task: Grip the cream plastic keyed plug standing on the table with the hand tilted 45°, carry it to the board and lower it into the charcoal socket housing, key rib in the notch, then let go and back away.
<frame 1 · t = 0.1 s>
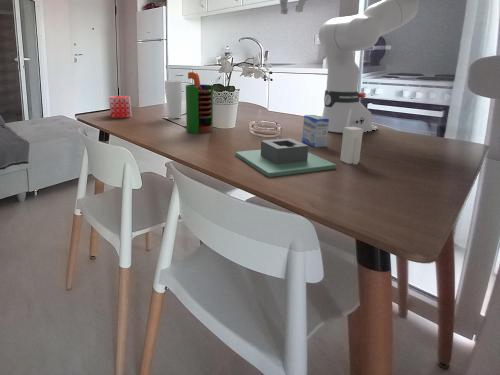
hand: (291, 13, 118), 39 cm above the table, tool pointing down, fingers open, 8 cm apart
puzzle cube: (121, 116, 158), on the table
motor: (199, 131, 133), on the table
keyed plug: (349, 161, 100), on the table
medicine box: (313, 144, 118), on the table
drinking glass: (174, 118, 156), on the table
socket board: (283, 161, 98), on the table
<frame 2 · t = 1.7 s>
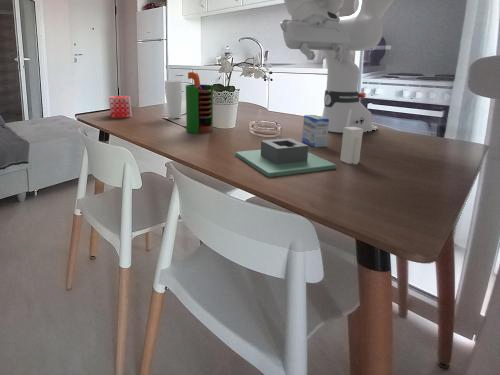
hand: (326, 58, 103), 26 cm above the table, tool tilted 45°, fingers open, 8 cm apart
nothing on the table moved.
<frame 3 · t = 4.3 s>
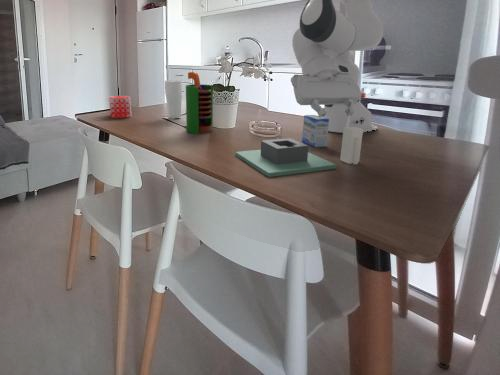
hand: (337, 115, 101), 11 cm above the table, tool tilted 45°, fingers open, 8 cm apart
nothing on the table moved.
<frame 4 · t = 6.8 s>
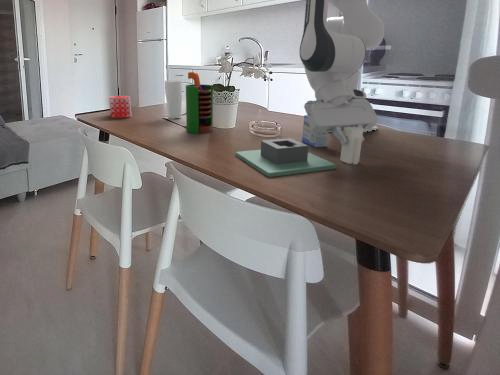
hand: (353, 142, 97), 5 cm above the table, tool tilted 45°, fingers closed on keyed plug, 3 cm apart
keyed plug: (349, 161, 100), on the table, touching gripper
everything else where it was.
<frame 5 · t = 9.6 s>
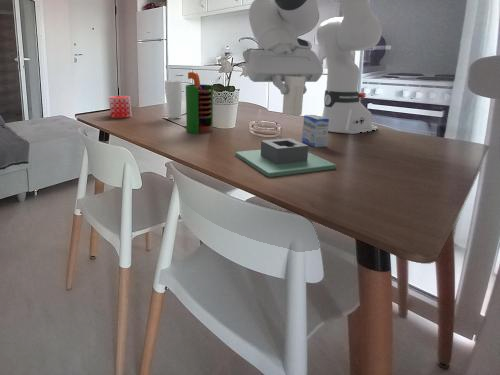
hand: (294, 92, 91), 18 cm above the table, tool tilted 45°, fingers closed on keyed plug, 3 cm apart
keyed plug: (291, 113, 94), point 13 cm above the table, touching gripper
everything else where it was.
when the fingers open (8 cm above the table, at t = 12.4 s): keyed plug drops 2 cm, resting on socket board.
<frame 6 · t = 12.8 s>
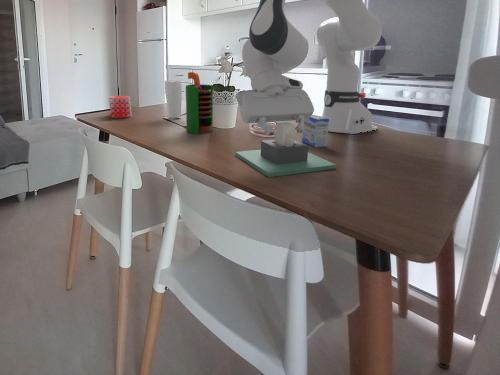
hand: (286, 133, 95), 8 cm above the table, tool tilted 45°, fingers open, 8 cm apart
keyed plug: (283, 158, 98), point 1 cm above the table, touching socket board
everything else where it was.
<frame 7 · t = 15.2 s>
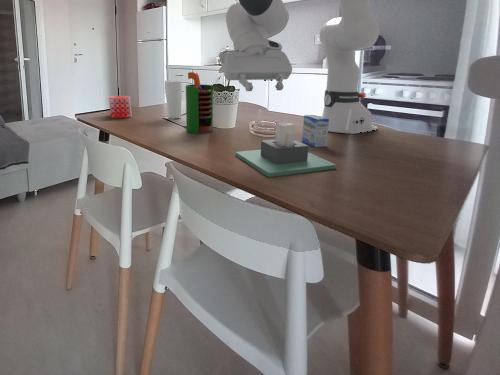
hand: (265, 89, 102), 17 cm above the table, tool tilted 45°, fingers open, 8 cm apart
nothing on the table moved.
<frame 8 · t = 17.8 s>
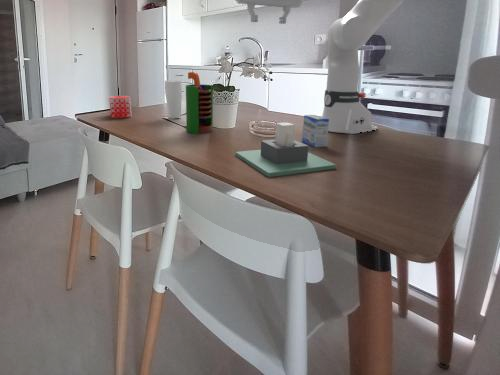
hand: (268, 22, 110), 35 cm above the table, tool pointing down, fingers open, 8 cm apart
nothing on the table moved.
at the end: keyed plug 0.1 cm off-centre on the socket board, point 1.0 cm above the socket board's base; keyed plug tilted 0°; the gripper is holding nothing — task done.
